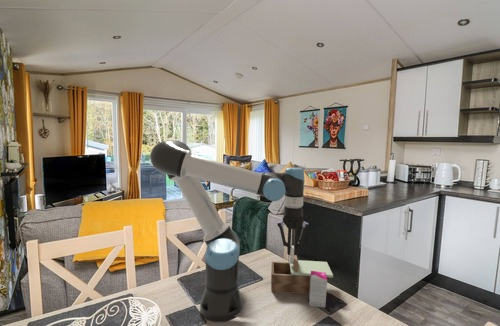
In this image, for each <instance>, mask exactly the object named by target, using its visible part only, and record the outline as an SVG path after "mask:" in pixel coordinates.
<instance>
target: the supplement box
mask: <svg viewBox="0 0 500 326" xmlns="http://www.w3.org/2000/svg"><path fill="white" fill-rule="evenodd" d="M327 285H328V277H327V276H326V273H324V272H317V271H311V276H310V290H309V294H308V304H309V306H312V307H318V308H319V307H320V308H326V303H327V289H328V286H327Z"/></svg>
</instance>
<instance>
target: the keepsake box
mask: <svg viewBox="0 0 500 326" xmlns="http://www.w3.org/2000/svg"><path fill="white" fill-rule="evenodd" d="M270 276H271V279H270V283H271V285H270V287H271V288H270V289H271V290H270V291H271V292H272V293H286V294H287V293H288V294H303V295H305V294H306V295H309V290H310V276H299V275H291V270H290V264H289V261H288V262H284V261H271V273H270Z"/></svg>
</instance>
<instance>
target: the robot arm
mask: <svg viewBox="0 0 500 326" xmlns="http://www.w3.org/2000/svg"><path fill="white" fill-rule="evenodd" d="M149 157H150V158H149V159H150V164H151V165H152V167H153V168H154V170H156V171H157V172H159V173H161V174H166V176H167V177H168V179H169V181H172V182H174V183H175V184H176V185H177V188H178V189H179V191H180V193H181V194H182V196H183V198H184V199H185V201H186V203H187V205H188V207H189V208H190V210H191V212H192V214H193V215H194V217H195V218H196V221H197V223H198V224H199V226H200V228H201V229H202V231H203V233H204V236H203V241H204V243H205V244H206V249H205V254H204V258H205V287H204V290H203V293H202V296H201V299H200V304H199V305H200V308H199V311H200V314H201V315H202V317H204V318H205V319H206V320H209V321H211V322H212V321H213V322H217V323H218V322H228V321H230V320H234V319H235V318H236V315H238V314H239V313H240V312H241V311H242V309H243V302H244V301H243V298H242V295H241V291H240V289H239V265H240V264H239V263H240V262H239V260H240V249H241V248H240V247H241V242H240V238H239V236H238V234H237V233H236V232H235V231H234V230H233V229H232V228H231V226H230V225H229V223H226V222H224V221H223V219H222V218H221V215H220V214H219V212H218V211H217V208H216V207H215V205H214V203H213V202H212V199H211V197H210V195H209V194H208V192H207V190H206V188H205V187H204V185H203V183H202V181H205V182H209V183H213V184H216V185H221V186H224V187H229V188H230V189H231V188H232V189H234V190H235V189H236V190H239V191H243V192H246V193H250V194H254V195H257V196H262V197H265V198H266V199H267V200H269V201H271V202H278V201H280V200H282V198H283V197H284V201H283V203H284V206H283V207H284V208H283V217H282V219H281V220H280V221H277V222H276V224H277V227H278V228H279V231H280V235H281V236H280V237H281V241H282V245H283V246H284V247H286V249H287V250H286V254H287V255H288V256H289V260H290V264H294V255H297V254H298V253H297V252H298V248H301V247H302V245H303V242H304V239H305V236H306V233H307V230H308V229H309V227H310V224H309V222H306V221H305V220H304V208H303V206H304V192H305V190H304V187H305V171H304V169H303V168H301V167H286V168H285V169H284V170H285V171H284V172H267V171H266V172H265V171H262V172H261V171H260V172H257V171H253V170H250V169H246V168H242V167H239V166H235V165H231V164H228V163H224V162H221V161H218V160H214V159H210V158H206V157H203V156H199V155H196V154H193V153H192V150H191V148H190V147H189V146H188V145H187V144H186V143H185V142H182V141H180V140H165V141H161V142H158V143H156V145H154V146H153V148H152V149H151V151H150V155H149ZM201 180H202V181H201ZM284 225H285V227H286V228H287V240H286V237H285V231H284ZM301 226H302V229H301V231H300V236H299V237H298V235H299V233H298V231H299V228H300V227H301ZM292 230H293V245H292ZM298 238H299V239H298Z"/></svg>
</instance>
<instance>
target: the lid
mask: <svg viewBox="0 0 500 326" xmlns="http://www.w3.org/2000/svg"><path fill="white" fill-rule="evenodd" d="M288 263H289V264H290V259H289V260H288ZM290 270H291V275H299V276H311V271H317V272H324V273H326V276H327V278H331V279H333V278H334V274H333V272H332V270H331V268H330V266H329V264H328V262H327V261H321V260H320V261H319V260H318V261H315V260H298V256H297V255H294V264H290Z"/></svg>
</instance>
